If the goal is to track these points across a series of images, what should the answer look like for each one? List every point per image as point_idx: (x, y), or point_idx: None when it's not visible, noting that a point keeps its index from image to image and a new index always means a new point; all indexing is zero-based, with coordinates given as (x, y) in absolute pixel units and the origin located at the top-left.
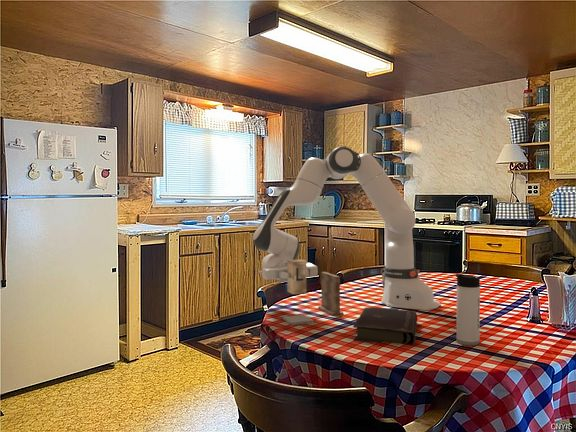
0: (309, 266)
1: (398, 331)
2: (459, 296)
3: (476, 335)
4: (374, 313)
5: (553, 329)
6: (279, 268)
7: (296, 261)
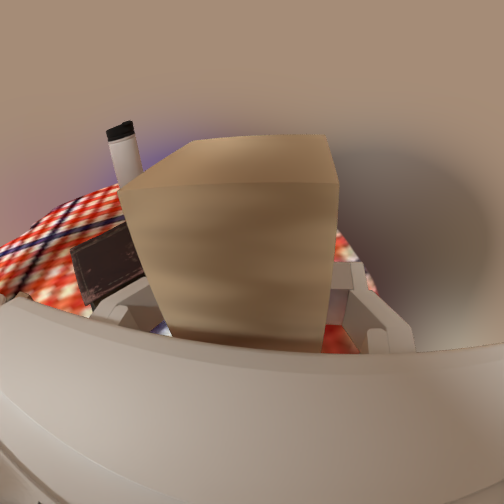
0: (21, 324)
1: None
2: (134, 147)
3: None
4: (126, 260)
5: (56, 210)
6: (421, 384)
7: (279, 137)
